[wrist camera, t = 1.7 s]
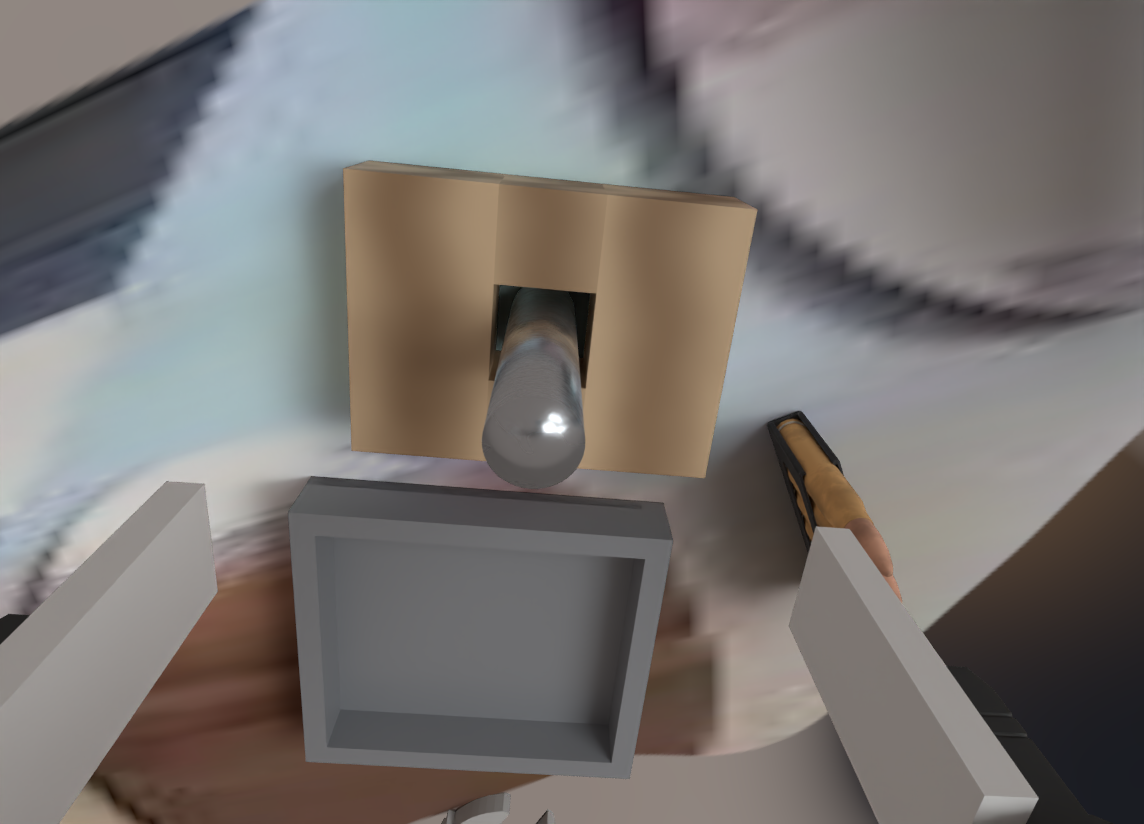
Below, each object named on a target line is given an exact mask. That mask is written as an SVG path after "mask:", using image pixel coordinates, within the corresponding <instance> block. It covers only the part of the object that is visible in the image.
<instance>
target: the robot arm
mask: <svg viewBox="0 0 1144 824" xmlns="http://www.w3.org/2000/svg"><path fill="white" fill-rule="evenodd" d="M217 592H218V590H217V582H216V574H215V566H214V558H213V549H212V541H211V533H210V525H209V517H208V509H207V501H206V493H205V485H204V484H198V483H184V482H169V481H166V482H165V483H164V484H163V485H162V486H161V487H160V488H159V489H158V490H157V491H156V492H155V493H154V494H153V495H152V496H151V497H150V498H149V499H148V500H147V501H146V502H145V503H144V504H143V505H142V506H141V507H140V508H139V509H138V510H137V511H136V512H135V513H134V514H133V515H132V516H131V517H130V518H129V519H128V520H127V521H126V522H125V523H124V524H123V525H122V526H121V527H120V528H119V529H118V530H117V531H116V532H114V533H113V534H112V535H111V536H110V537H109V538H108V539H107V540H106V541H105V542H104V543H103V544H102V545H101V546H100V547H99V548H98V549H97V550H96V551H95V552H94V553H93V554H92V555H91V556H90V557H89V558H88V559H87V560H86V561H85V562H84V563H83V564H82V565H81V566H80V567H79V568H78V569H77V570H76V571H75V572H74V573H73V574H72V575H71V576H70V577H69V578H68V579H67V580H66V581H65V582H64V583H63V584H62V585H61V586H60V587H58V588H57V589H56V590H55V591H54V592H53V593H52V594H51V595H50V596H49V597H48V598H47V599H46V600H45V601H44V602H43V603H42V604H41V605H40V606H39V607H38V608H37V609H36V610H35V611H34V612H33V613H32V614H31V615H16V614H8V615H6V616H4V617H3V618H1V619H0V824H59V823H60V821H61V820H62V818H63V817H64V815H65V814H66V813H67V811H68V810H69V808H70V807H71V805H72V804H73V802H74V801H75V799H76V798H77V796H78V795H79V794H80V792H81V791H82V789H83V788H84V786H85V785H86V783H87V782H88V780H89V779H90V777H91V776H92V775H93V773H94V772H95V770H96V769H97V767H98V766H99V764H100V763H101V761H102V760H103V758H104V757H105V756H106V754H107V753H108V751H109V750H110V748H111V747H112V745H113V744H114V742H115V741H116V739H117V738H118V736H119V735H120V734H121V732H122V731H123V729H124V728H125V726H126V725H127V723H128V722H129V720H130V719H131V717H132V716H133V715H134V713H135V712H136V710H137V709H138V707H139V706H140V704H141V703H142V701H143V700H144V698H145V697H146V696H147V694H148V693H149V691H150V690H151V688H152V687H153V685H154V684H155V682H156V681H157V679H158V678H159V677H160V675H161V674H162V672H163V671H164V669H165V668H166V666H167V665H168V663H169V662H170V660H171V659H172V657H173V656H174V655H175V653H176V652H177V650H178V649H179V647H180V646H181V644H182V643H183V641H184V640H185V638H186V637H187V636H188V634H189V633H190V631H191V630H192V628H193V627H194V625H195V624H196V622H197V621H198V619H199V618H200V617H201V615H202V614H203V612H204V611H205V609H206V608H207V606H208V605H209V603H210V602H211V600H212V599H213V598H214V596H215V595H216V593H217ZM789 627H790V630H791V632H792V634H793V636H794V638H795V641H796V643H797V645H798V647H799V649H800V652H801V654H802V656H803V658H804V660H805V663H806V665H807V667H808V669H809V671H810V674H811V676H812V678H813V680H814V682H815V685H816V687H817V689H818V691H819V693H820V696H821V698H822V700H823V702H824V704H825V706H826V709H827V711H828V713H829V715H830V717H831V720H832V722H833V724H834V726H835V728H836V731H837V733H838V735H839V737H840V739H841V742H842V744H843V746H844V748H845V750H846V753H847V755H848V757H849V759H850V761H851V764H852V766H853V768H854V770H855V772H856V774H857V777H858V779H859V781H860V783H861V786H862V788H863V790H864V792H865V794H866V796H867V799H868V801H869V803H870V805H871V807H872V809H873V812H874V814H875V816H876V818H877V821H878V823H879V824H1113V823H1110V822H1108V821H1106V820H1104V819H1101V818H1098V817H1096V816H1094V815H1088V814H1087V812H1086V811H1085V810H1084V809H1083V807H1082V806H1081V804H1080V803H1079V802H1078V800H1077V799H1076V798H1075V796H1074V795H1073V794H1072V792H1071V791H1070V790H1069V789H1068V787H1067V786H1066V785H1065V783H1064V782H1063V781H1062V779H1061V778H1060V777H1059V775H1058V774H1057V773H1056V771H1055V770H1054V769H1053V767H1052V766H1051V765H1050V763H1049V762H1048V761H1047V759H1046V758H1045V757H1044V755H1043V754H1042V753H1041V752H1040V750H1039V749H1038V747H1037V746H1036V745H1035V744H1034V742H1033V741H1032V740H1031V739H1028V738H1027V733H1026V732H1025V730H1024V729H1023V728H1022V726H1021V725H1020V724H1019V723H1018V721H1017V720H1016V718H1012V713H1011V712H1010V711H1009V709H1008V708H1007V706H1006V705H1005V704H1004V703H1003V701H1002V700H1001V699H1000V697H999V696H998V695H997V693H996V692H995V691H994V689H993V688H991V687H990V686H989V685H988V684H987V683H985V682H984V681H983V680H982V679H980V678H979V677H978V676H977V675H976V674H974V673H973V672H972V671H970V670H969V669H968V668H967V667H956V666H946V665H945V664H944V662H943V661H942V660H941V658H940V657H939V655H938V654H937V653H936V651H935V650H934V648H933V647H932V645H931V644H930V643H929V641H928V640H927V638H926V637H925V636H924V634H923V633H922V631H921V630H920V628H919V627H918V625H917V624H916V623H915V621H914V620H913V618H912V617H911V616H910V614H909V613H908V611H907V610H906V608H905V607H904V606H903V604H902V603H901V601H900V600H899V598H898V597H897V596H896V594H895V593H894V591H893V590H892V588H891V587H890V586H889V584H888V583H887V581H886V580H885V579H884V577H883V576H882V574H881V573H880V571H879V570H878V569H877V567H876V566H875V564H874V563H873V561H872V560H871V559H870V557H869V556H868V554H867V553H866V551H865V550H864V549H863V547H862V546H861V544H860V543H859V542H858V540H857V539H856V537H855V536H854V534H853V533H852V532H851V530H850V529H845V528H831V527H817V526H816V528H815V532H814V535H813V539H812V542H811V546H810V550H809V553H808V557H807V561H806V564H805V568H804V572H803V575H802V579H801V583H800V586H799V590H798V594H797V597H796V601H795V605H794V608H793V612H792V616H791V619H790V623H789Z"/></svg>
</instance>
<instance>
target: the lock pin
mask: <svg viewBox="0 0 1144 824" xmlns="http://www.w3.org/2000/svg"><path fill="white" fill-rule="evenodd" d="M482 449H483V453H484V457H485V459H486V461H487V463H488V465H489V466H490V468H491V469H492V470H493V471H494V472H495V473H496V474H497V475H498V476H499V477H500V478H502V479H503V480H505V481H506V482H508V483H510V484H513V485H515V486H519V487H523V488H529V489H538V488H546V487H550V486H553V485H556V484H558V483H560V482H562V481H563V480H565V479H566V478H568V477H569V476H570V475H571V474H572V473H573V472H574V471H575V470H576V469H577V467H578V466H579V464H580V462H581V460H582V458H583V455H584V451H585V430H584V418H583V405H582V393H581V381H580V368H579V356H578V343H577V331H576V318H575V307H574V303H573V300H572V298H571V296H570V295H569V293H568V292H567V291H563V290H552V289H541V288H530V287H523V288H521V289H520V290H519V291H518V293H517V294H516V296H515V297H514V300H513V302H512V306H511V311H510V315H509V319H508V324H507V328H506V332H505V337H504V341H503V346H502V350H501V354H500V359H499V363H498V368H497V372H496V376H495V381H494V385H493V389H492V394H491V398H490V403H489V407H488V411H487V416H486V420H485V425H484V429H483V433H482Z"/></svg>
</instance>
